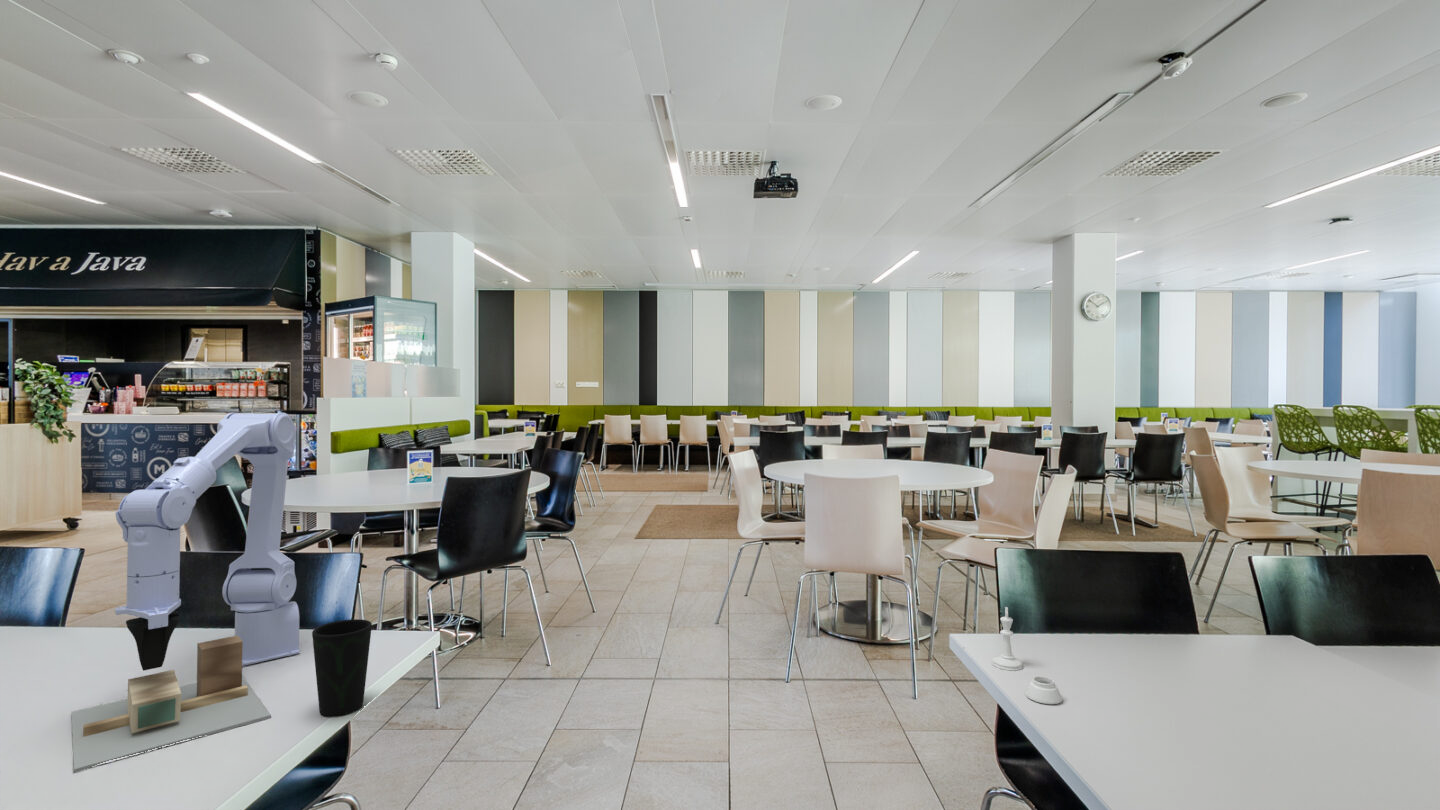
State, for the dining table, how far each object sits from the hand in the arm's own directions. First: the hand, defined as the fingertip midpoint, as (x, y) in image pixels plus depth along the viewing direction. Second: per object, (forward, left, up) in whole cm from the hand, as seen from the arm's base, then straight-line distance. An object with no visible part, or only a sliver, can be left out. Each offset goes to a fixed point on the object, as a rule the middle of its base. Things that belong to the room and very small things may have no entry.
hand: (152, 667), depth 92 cm
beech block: (0, -1, -3) cm, 3 cm away
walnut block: (-8, -2, -7) cm, 11 cm away
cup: (-20, +16, -7) cm, 27 cm away
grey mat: (-2, +1, -7) cm, 8 cm away
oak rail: (-2, +1, -7) cm, 8 cm away
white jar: (-96, +90, -8) cm, 132 cm away
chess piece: (-106, +81, -8) cm, 133 cm away
